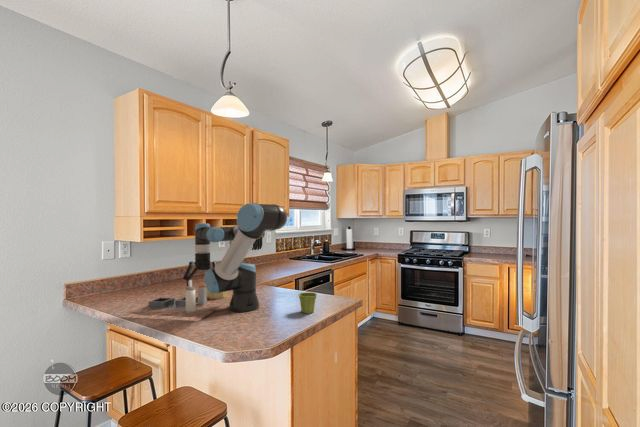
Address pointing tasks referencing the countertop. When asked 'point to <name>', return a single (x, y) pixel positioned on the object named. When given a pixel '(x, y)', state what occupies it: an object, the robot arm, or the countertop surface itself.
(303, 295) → the plant pot
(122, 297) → the countertop surface
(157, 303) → the dock
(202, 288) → the pin
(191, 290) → the cream round peg
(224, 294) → the sculpture
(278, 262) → the countertop surface
